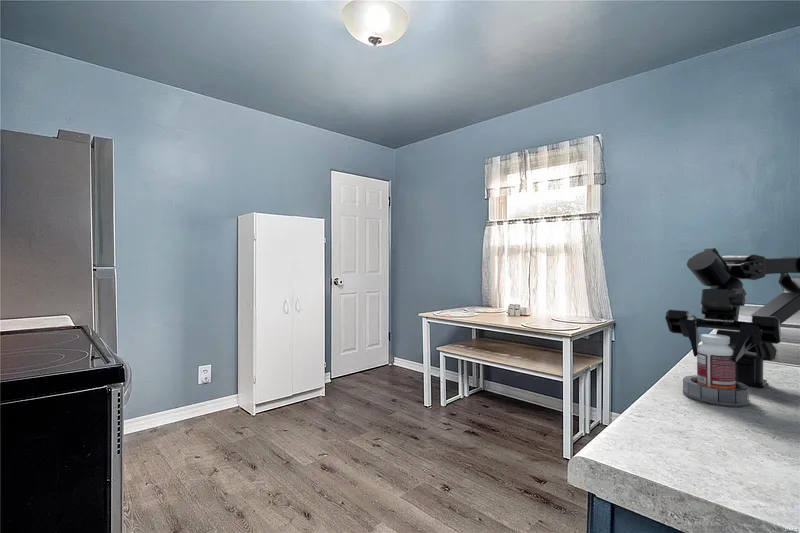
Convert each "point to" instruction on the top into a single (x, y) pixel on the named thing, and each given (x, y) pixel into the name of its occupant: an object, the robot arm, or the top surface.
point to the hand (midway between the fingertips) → (713, 357)
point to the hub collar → (716, 393)
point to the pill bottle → (715, 362)
